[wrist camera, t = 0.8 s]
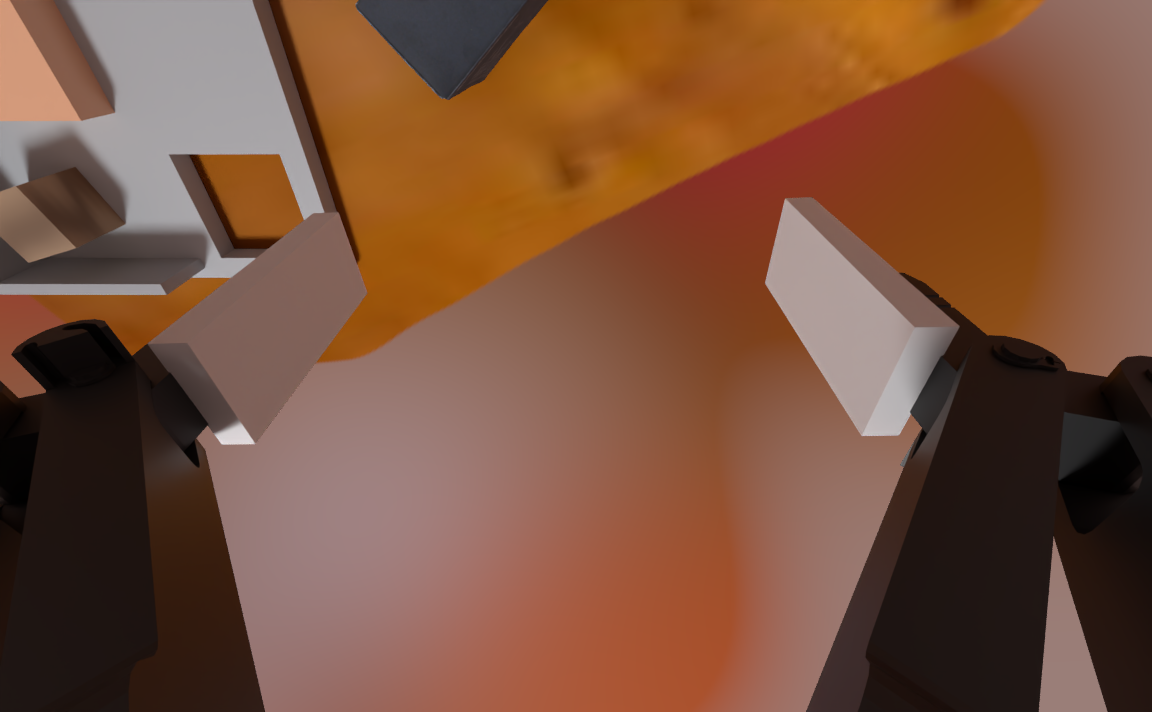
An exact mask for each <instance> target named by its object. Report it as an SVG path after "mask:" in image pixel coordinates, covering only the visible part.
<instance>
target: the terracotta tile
mask: <svg viewBox="0 0 1152 712" xmlns="http://www.w3.org/2000/svg"><path fill="white" fill-rule="evenodd" d="M112 113H115V112H114V110H113V108H112V106H111V105H110V103H109V101H108V99H107V97H106V95H105V94H104V92H103V90H102V88H101V86H100V84H99V83H98V81H97V79H96V77H95V75H94V73H93V72H92V70H91V68H90V66H89V64H88V62H87V61H86V59H85V57H84V55H83V53H82V51H81V50H80V48H79V46H78V44H77V42H76V41H75V39H74V37H73V35H72V33H71V31H70V30H69V28H68V26H67V24H66V22H65V20H64V19H63V17H62V15H61V13H60V11H59V9H58V8H57V6H56V4H55V2H54V0H0V121H83V120H87V119H91V118H95V117H100V116H104V115H108V114H112Z"/></svg>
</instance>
